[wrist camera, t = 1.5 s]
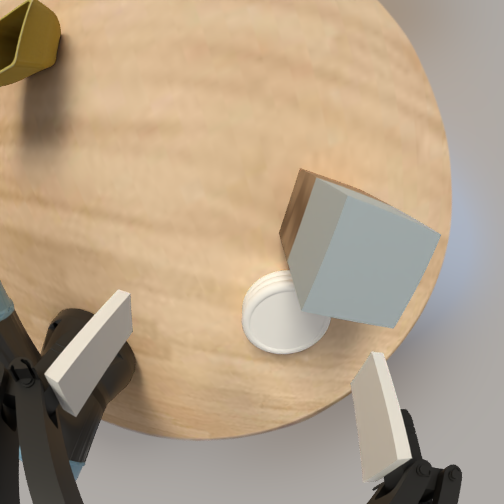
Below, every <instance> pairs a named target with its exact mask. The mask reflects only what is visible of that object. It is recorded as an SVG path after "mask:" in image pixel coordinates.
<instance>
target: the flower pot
mask: <svg viewBox="0 0 504 504" xmlns="http://www.w3.org/2000/svg"><path fill="white" fill-rule="evenodd" d="M60 35H61V29H60V24H59V21H58V18H57V16H56V15H55V13H54V12H53V11H51V10H50V9H49V8H48V7H46V6H45V5H44V4H42V3H41V2H39V1H38V0H26V1H25V2H23V3H22V4H21V5H19V6H18V7H16V8H15V9H13V10H12V11H11V12H9V13H8V14H7V15H5V16H4V17H2V18H1V19H0V87H1V86H6V85H9V84H12V83H15V82H17V81H20V80H22V79H24V78H26V77H28V76H30V75H33V74H35V73H37V72H39V71H41V70H44V69H46V68H49V67H51V66H52V65H54V63H55V61H56V55H57V49H58V44H59V39H60Z"/></svg>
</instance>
